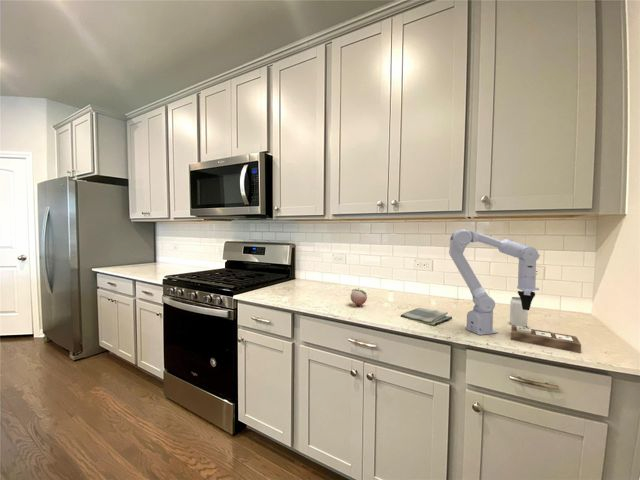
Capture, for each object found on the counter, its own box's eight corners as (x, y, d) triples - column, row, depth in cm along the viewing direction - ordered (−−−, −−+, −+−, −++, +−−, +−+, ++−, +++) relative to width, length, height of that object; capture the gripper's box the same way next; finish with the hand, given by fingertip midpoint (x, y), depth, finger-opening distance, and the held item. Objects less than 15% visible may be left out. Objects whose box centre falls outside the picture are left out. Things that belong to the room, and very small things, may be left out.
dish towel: (399, 317, 136) (399, 311, 136) (418, 311, 148) (419, 305, 148) (435, 328, 122) (435, 321, 122) (454, 320, 133) (454, 313, 133)
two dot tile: (556, 346, 102) (556, 337, 102) (554, 341, 106) (555, 333, 106) (573, 349, 100) (573, 340, 100) (570, 344, 104) (571, 336, 103)
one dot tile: (535, 342, 106) (536, 334, 106) (534, 338, 110) (535, 330, 110) (551, 345, 103) (551, 336, 103) (550, 341, 107) (550, 333, 107)
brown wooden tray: (511, 339, 108) (511, 332, 108) (511, 332, 116) (511, 325, 116) (580, 352, 97) (581, 344, 97) (575, 344, 104) (576, 336, 104)
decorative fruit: (347, 306, 153) (347, 288, 153) (352, 303, 160) (353, 286, 160) (364, 309, 149) (364, 290, 148) (368, 305, 156) (369, 287, 156)
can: (510, 321, 130) (511, 296, 130) (527, 324, 126) (528, 298, 126) (508, 325, 125) (509, 298, 125) (526, 328, 121) (527, 301, 121)
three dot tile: (516, 336, 109) (516, 328, 109) (516, 332, 113) (516, 325, 113) (531, 339, 107) (531, 331, 106) (530, 335, 110) (530, 327, 110)
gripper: (540, 279, 104) (539, 315, 105) (538, 274, 116) (536, 307, 117) (517, 278, 108) (516, 312, 109) (517, 273, 120) (516, 304, 121)
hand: (525, 309), depth 113 cm, fingers closed
